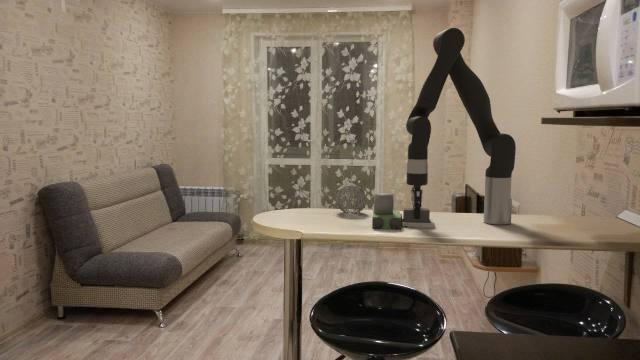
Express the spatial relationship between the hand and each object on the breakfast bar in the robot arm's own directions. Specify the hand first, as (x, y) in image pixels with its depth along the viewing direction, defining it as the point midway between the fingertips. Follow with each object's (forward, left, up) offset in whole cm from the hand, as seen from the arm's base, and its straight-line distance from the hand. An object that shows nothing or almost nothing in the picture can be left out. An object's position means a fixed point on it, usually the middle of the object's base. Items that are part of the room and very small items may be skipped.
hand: (416, 216), depth 194 cm
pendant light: (+25, -22, -3) cm, 33 cm away
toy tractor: (+6, 0, -3) cm, 7 cm away
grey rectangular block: (0, 0, -3) cm, 3 cm away
